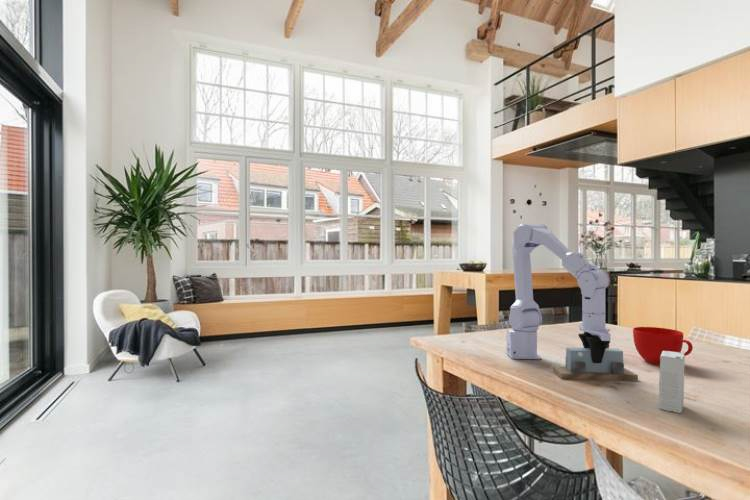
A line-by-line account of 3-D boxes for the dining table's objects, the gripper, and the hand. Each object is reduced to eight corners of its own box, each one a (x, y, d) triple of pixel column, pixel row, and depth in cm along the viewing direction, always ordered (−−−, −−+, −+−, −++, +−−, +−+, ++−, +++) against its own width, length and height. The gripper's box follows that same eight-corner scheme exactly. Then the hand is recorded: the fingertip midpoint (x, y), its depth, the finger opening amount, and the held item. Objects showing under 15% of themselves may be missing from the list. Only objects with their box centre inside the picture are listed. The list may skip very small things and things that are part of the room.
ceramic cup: (674, 374, 114) (674, 339, 114) (623, 358, 130) (623, 327, 130) (708, 370, 117) (708, 336, 117) (654, 355, 133) (654, 325, 133)
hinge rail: (561, 378, 109) (561, 362, 109) (553, 371, 116) (552, 356, 116) (637, 380, 108) (637, 364, 108) (625, 373, 114) (624, 357, 114)
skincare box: (660, 401, 93) (660, 349, 93) (685, 406, 90) (684, 352, 90) (658, 409, 88) (658, 354, 88) (683, 414, 86) (683, 358, 86)
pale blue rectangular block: (571, 372, 110) (571, 351, 110) (566, 368, 114) (566, 347, 114) (624, 373, 109) (624, 352, 109) (617, 369, 113) (617, 348, 113)
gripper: (622, 317, 104) (622, 368, 104) (596, 309, 119) (596, 354, 119) (594, 316, 105) (594, 368, 105) (571, 308, 119) (572, 354, 119)
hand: (593, 361), depth 112 cm, fingers closed on pale blue rectangular block, 3 cm apart
